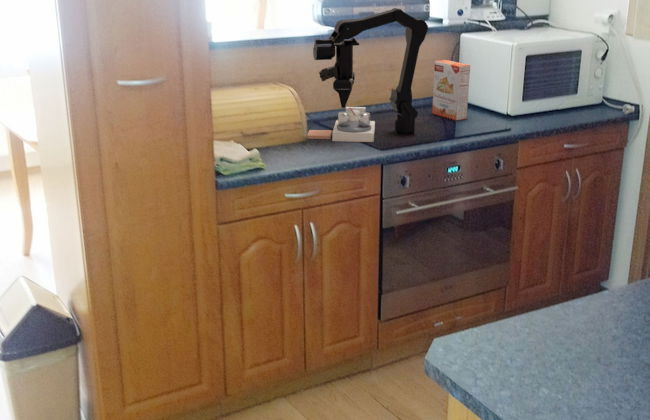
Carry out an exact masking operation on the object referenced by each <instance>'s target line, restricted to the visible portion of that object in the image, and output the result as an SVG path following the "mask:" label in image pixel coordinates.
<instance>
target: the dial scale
mask: <svg viewBox="0 0 650 420" xmlns="http://www.w3.org/2000/svg"><path fill="white" fill-rule="evenodd" d="M366 109H367V108H366V107H365V106H345V112H349V113H350V126H349V127H339V126H338V119H336V120H335V124H334V127H333V130H332V135H331V138H332V139H331V141H332V142H354V143H374V141H375V132H376V121H375V120H370V127H367V128H362V127H358V116H359V113H360V112H366Z"/></svg>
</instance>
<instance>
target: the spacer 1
mask: <svg viewBox="0 0 650 420" xmlns="http://www.w3.org/2000/svg"><path fill="white" fill-rule="evenodd" d="M337 115H338V116H337V117H338V119H337V120H338V126H339V127H349V126H350V113H349V112H346V111H339V112H338V114H337Z"/></svg>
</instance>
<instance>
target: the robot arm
mask: <svg viewBox="0 0 650 420" xmlns="http://www.w3.org/2000/svg"><path fill="white" fill-rule="evenodd" d="M395 22H396V23H398V24H400V25H401V26H402V27H404V28H405V33H404V34H405V41H406V47H405V51H404V54H403V55H404V57H403V61H402V66H401V70H400V76H399V81H398V84H397V87H396V88H395V89H394V88H391V92H390V93H391V94H390V98H389V99H388V100H389V101H390V105H391V107H392V108H393V109H394V111H395V113H396V118H395V124H394V125H395V126H394V130H395V131H394V132H395V133H396V135H408V136H410V135H411V136H415V135H416V130H415V129H416V128H415V127H416V119H417V117H418V114H419V111H417V110H416V109H415V107H413V93H412V87H413V81H414V75H415V70H416V67H417V66H416V65H417V62H418V57H419V52H420V51H419V50H420V47H421V46H422V44H423V43H424V41H425V39H426V35H427V34H428V31H429V25H428V23H427V22H426V21H425V20H423V19H420V18H417V17H413V16H411V15H409V14H408V13H406V12H405V11H403V9H401V8H396V7H394V8H392V9H388V10H386V11H383V12H379V13H375V14H372V15H368V16H365V17H361V18H353V19H352V18H351V19H340V20H338V21H337V22H336V23H335V25H334V30H333V31H332V32H331V34H330V36H329V37H328V39H320V38H319V39H318V38H315V39H314V43H313V48H312V54H313V55H312V56H313V58H314V61H329V60H333V58H334V57H335V63H334V65H332V66H329V67H325V68H322V69H321V70H320V71H319V72H318V74H319V78H320V80H321V82H325V81H326V80H329V79H331V78H334V79H335V80H333V82H332V87H333V88H332V89H333V90H334V91H335V92H336V93H338V97H339V102H340V106H341V108H342V109H344V108H345V109H346V107H347V103H348V100H349V98H350V95H351V93H352V90H353V85H354V83H355V79H356V73H355V72H354V46H359V45H360V43H359V42H358V41H357V40H356V38H355V37H357V36H359V34H361V33H363V32H364V31H368V30H370V29H375V28H377V27H383V26H385V25H389V24H392V23H395Z"/></svg>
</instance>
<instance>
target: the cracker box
mask: <svg viewBox="0 0 650 420" xmlns="http://www.w3.org/2000/svg"><path fill="white" fill-rule="evenodd" d="M470 71H471V65H470V64H467V63H462V62H457V61H453V60H449V59H448V60H447V59H439V60H435V61H434V70H433V89H432V90H433V93H432V94H433V95H432V109H431V110H432V112H431V113H432V114H433V115H437V116H440V117H443V118H445V117H446V118H445V119H448V118H449V120H451V119H452V121H454V120H455V122H458V121H462V120H467V117H468V102H469V89H470V88H469V87H470V75H471V74H470V73H471V72H470ZM457 120H458V121H457Z"/></svg>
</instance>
